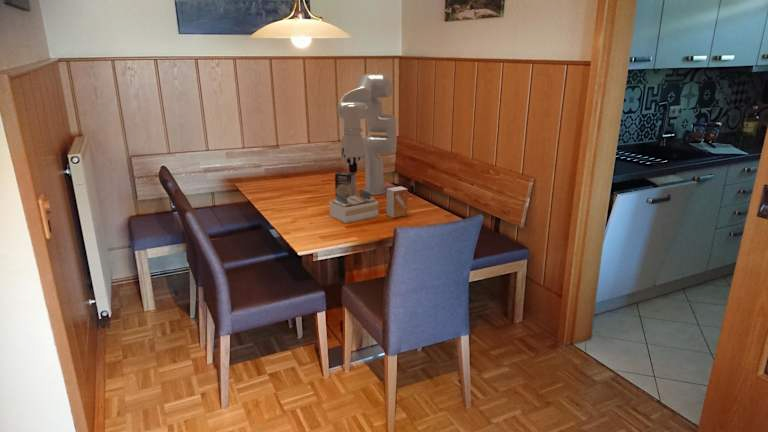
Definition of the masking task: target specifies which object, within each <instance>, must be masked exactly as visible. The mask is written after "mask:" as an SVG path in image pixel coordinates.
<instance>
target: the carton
mask: <svg viewBox="0 0 768 432" xmlns="http://www.w3.org/2000/svg"><path fill="white" fill-rule="evenodd" d="M329 217H332V218H334V219H336V220H338V221H340V222H342V223H344V224H349V223H353V222H358V221H363V220H368V219H372V218H376V217H377V218H378V217H379V201H378V200H375V201H370V202H365V203H360V204H355V205H350V206H345V207H343V206H341V205H338V204H336V203H334V202H331V200H330V201H329Z"/></svg>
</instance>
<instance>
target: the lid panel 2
mask: <svg viewBox="0 0 768 432" xmlns="http://www.w3.org/2000/svg"><path fill="white" fill-rule="evenodd" d="M348 198H350V199H352V200H355V201H358V202H360V203H365V202H370V201H377V199H376V198H374V197H372V195H371V193H370V192H367V191H364V189H359V194H358V195H356V196H351V197H348Z"/></svg>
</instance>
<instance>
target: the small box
mask: <svg viewBox="0 0 768 432" xmlns="http://www.w3.org/2000/svg"><path fill="white" fill-rule="evenodd" d="M408 194H409V191H408V188H406V187H403V186H402V185H401V186H400V185H399V186H394V187H386V207H385V208H386V210H385V211H386V213H385V214H386V215H387V216H389V217H391V218H393V219H394V218H399V217H405V216H408V202H409V201H408V198H409V197H408V196H409V195H408Z"/></svg>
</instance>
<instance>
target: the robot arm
mask: <svg viewBox="0 0 768 432" xmlns="http://www.w3.org/2000/svg"><path fill="white" fill-rule="evenodd" d="M393 93H394V85H393V83H392V81H391V79H390V78H389V76H387V75H385V74H383V73H366V74H364V75H362V76H361V77H360V78H359V80H358V82H357V85H356V87H355V88H354V89H352V90H350V91H348V92H347V93H345V94H343V95H342V96H341V98H340V99H339V102H338V105H337V111H336V112H337V115H338V117H339V118H340V119H343V135H342V137H341V142H340V157H341V160H342V161H344V162H346V163H347V164H348V170H349V171H348V172H351V173H356V174H357V172H358V165H359V161H360V160H362V159H365V160H364V161H365V188H364V189H363V190H364V191H367V192H370V193H371V196H378V195H384V194H385V193H387V188H391V184H390V183H384V161H383V157H382V156H381V155H380V154H392V153H394V152H395V151H396V147H397V118H396V117H395V115H393V114H389V113H387V114H384V113H383V103H382V101H381V100H380V98H390V97H391V96H392V95H393ZM363 119H365V120H366V122H365V123H366V129H367V131H368V132H371V133H385V134H369V135H366V136H365V137H364V138H363V135H362V134H361V133H362V132H363V128H362V127H361V125H362V124H361V120H363Z"/></svg>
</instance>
